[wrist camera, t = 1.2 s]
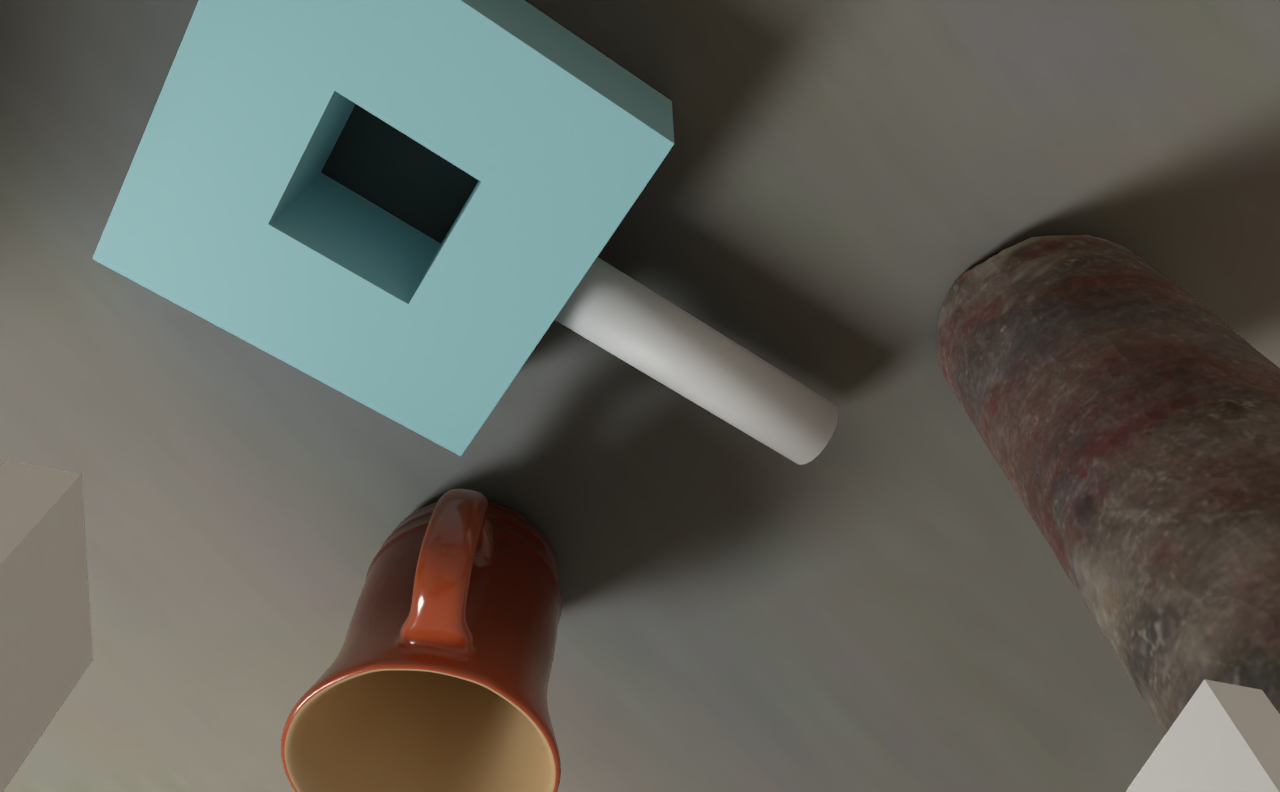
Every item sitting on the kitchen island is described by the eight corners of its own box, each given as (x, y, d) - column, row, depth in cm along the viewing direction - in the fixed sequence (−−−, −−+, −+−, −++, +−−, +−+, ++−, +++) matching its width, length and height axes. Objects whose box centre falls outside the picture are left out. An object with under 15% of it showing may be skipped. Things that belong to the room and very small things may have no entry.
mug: (566, 654, 42) (542, 872, 33) (361, 626, 42) (280, 840, 33) (609, 417, 36) (594, 603, 27) (371, 380, 36) (276, 559, 27)
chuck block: (167, 203, 33) (92, 258, 28) (319, -141, 28) (255, -138, 23) (709, 507, 38) (716, 592, 34) (915, 268, 33) (954, 332, 29)
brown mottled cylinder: (1123, 177, 32) (1694, 586, 14) (1182, 355, 35) (1710, 870, 17) (901, 284, 34) (1165, 759, 16) (975, 443, 37) (1264, 987, 19)
